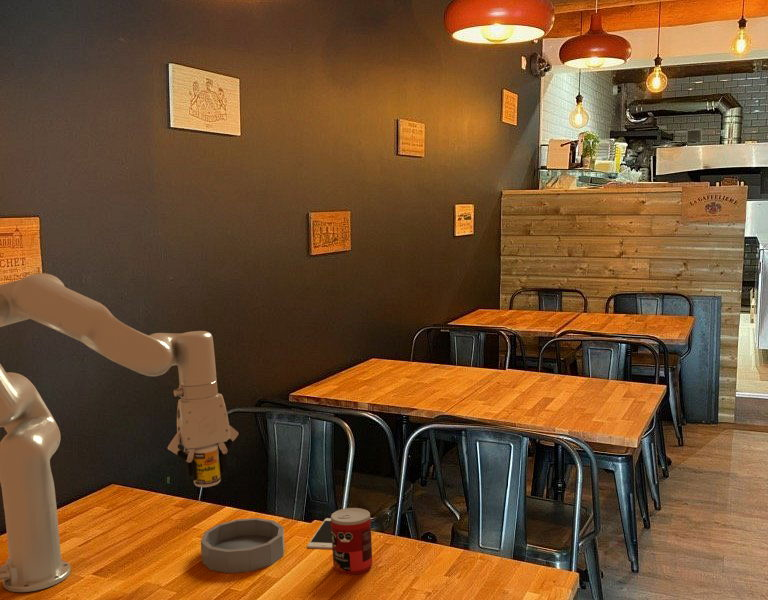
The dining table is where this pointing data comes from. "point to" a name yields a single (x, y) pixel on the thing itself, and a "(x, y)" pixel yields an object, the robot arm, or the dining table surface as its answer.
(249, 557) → the bowl
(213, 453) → the supplement bottle
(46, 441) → the robot arm
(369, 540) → the canned food
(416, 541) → the dining table surface
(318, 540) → the smartphone
